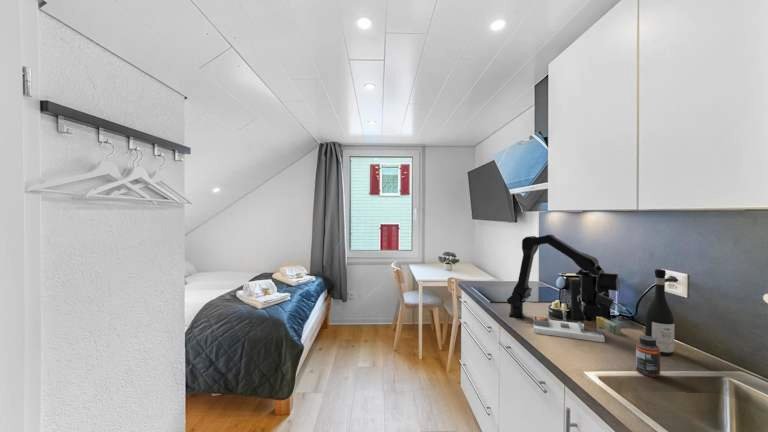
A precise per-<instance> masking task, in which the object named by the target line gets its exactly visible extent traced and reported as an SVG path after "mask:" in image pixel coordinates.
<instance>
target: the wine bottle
mask: <svg viewBox="0 0 768 432" xmlns="http://www.w3.org/2000/svg"><path fill="white" fill-rule="evenodd" d="M666 272H667V271H666V270H665V269H660V268H657V269H654V276H655V278H654V282H655V284H654V287H655V289H654V290H655V291H654V297H653V300H652V302H651V303H650V305H649V307H648V308H647V311H646V315H645V323H644V325H645V328H644V329H645V330H644V331H645V332H644V334H645V335H644V336H650V337H653V338H655V339H656V345H657V346H658V347H659V348H660V356H671V355H674V353H675V319H674V315H673V313H672V310H671V308H670V306H669V304H668V301H667V299H666V291H665V289H666V275H667V274H666Z"/></svg>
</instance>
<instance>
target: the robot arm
mask: <svg viewBox="0 0 768 432" xmlns="http://www.w3.org/2000/svg"><path fill="white" fill-rule="evenodd" d="M546 244H547V245H549V246H551V248H554V249H555V250H557V251H559V252H560V253H562V254H563V255H564V256H567V257H568V258H569V259H571V260H572V261H573V262H574V263H575V265H576V266H578V267H579V270H578V271H577V272H576V273H574V274H575V275H576V276H580V287H579V291H580V294H578V295H577V296H576V297H577V298H576V299H577V302H579V303H580V302H581V303H580V304H579V308H580V310H581V312H582V314H583V317H584V321H590V322H592V319H593V316H594V314H598V315H599V314H602V308H601V306H600V305H599V304H602V305H604V306H607V307H608V308H611V307H612V306H613V303H614V301H615V300H614V299H613V297H611V296H609V294H608V293H607V292H605V291H603V292H601V293H599V291H598V287H599V288H600V289H601V290H608V291H615V292H619V290H620V285H621V281H620V278H619V273H615V272H614V273H612V272H611V273H609V272H605V270H603V268H602V266H600V265H599V264H600V263H599V260H598V259H597V258H596V257H595V256H592V255H590V254H587V253H584V252H582V251H579V250H577V249H575V248H574V247H572V246H571V245H569V244H568V243H566V242H564V241H563V240H561V239H559V238H557V237H556V236H555V235H554V234H545V235H542V236H536V235H531V236H530V235H529V236H525V237H523V239H522V241H521V249H522V253H523V254H522V260H521V264H520V270H519V275H518V278H517V279H518V280H517V282H516V284H515V286H514V287H513V290H512V291H511V295H510V296H509V297H508V298H507V299H506V301H507V304H508V305H509V307H510V309H509V312H508V313H509V314H508V317H510V318H511V317H513V318H518V319H519V318H520V319H524V315H525V313H524V312H523V311H524V310H523V309H524V304H525V302H526V301H527V299H529V298H530V297H531V296H532V294H531V292H532V289H533V288H532V287H530V286H529V281H530V276H531V271H532V266H533V260H534V257H535V255H536V253H537V251H538V250H539V247H540V245H546Z"/></svg>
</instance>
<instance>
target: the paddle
mask: <svg viewBox="0 0 768 432" xmlns="http://www.w3.org/2000/svg"><path fill="white" fill-rule="evenodd" d="M583 324H584V330H585V331H593V332H597V322H596V321H591V322H590V321H586V320H583Z"/></svg>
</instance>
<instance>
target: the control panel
mask: <svg viewBox="0 0 768 432" xmlns="http://www.w3.org/2000/svg"><path fill="white" fill-rule="evenodd" d="M536 317H537V316H533V333H534V334H540V335H541V334H542V335H548V336H556V337H563V338H569V339H576V340H584V341H585V340H586V341H592V342H600V343H605V336H604V334H603V331H602V328H601V327H599V325H598V324H597V332H593V331H585V330H584V323H582V322H581V321H577V322H569V321H563V320H554V319H552V320H551V319H549V317H545V318H546V321H538V320H536Z"/></svg>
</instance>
